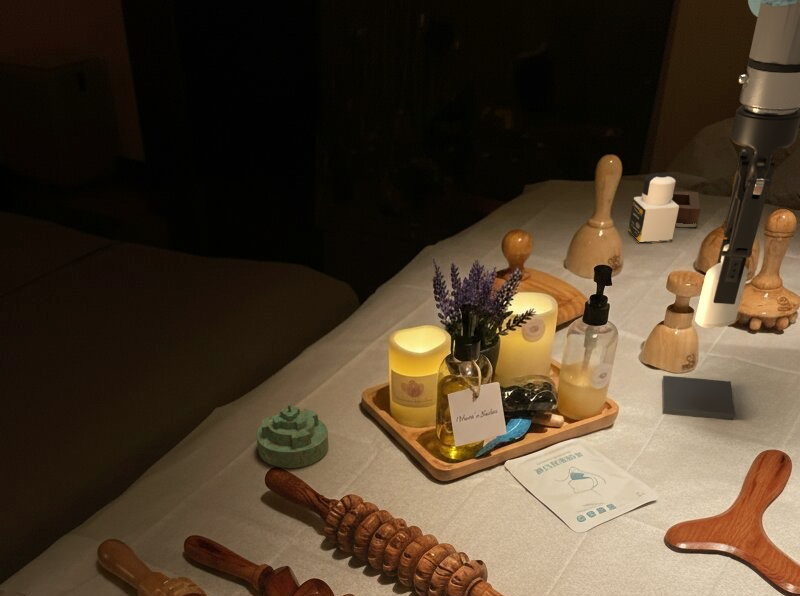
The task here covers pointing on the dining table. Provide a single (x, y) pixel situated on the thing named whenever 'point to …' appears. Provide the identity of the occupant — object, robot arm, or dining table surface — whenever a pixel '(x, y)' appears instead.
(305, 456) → the decorative artifact
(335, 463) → the dining table surface
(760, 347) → the dining table surface
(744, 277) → the eye dropper bottle
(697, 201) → the holder
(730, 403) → the coaster
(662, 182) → the medicine bottle
